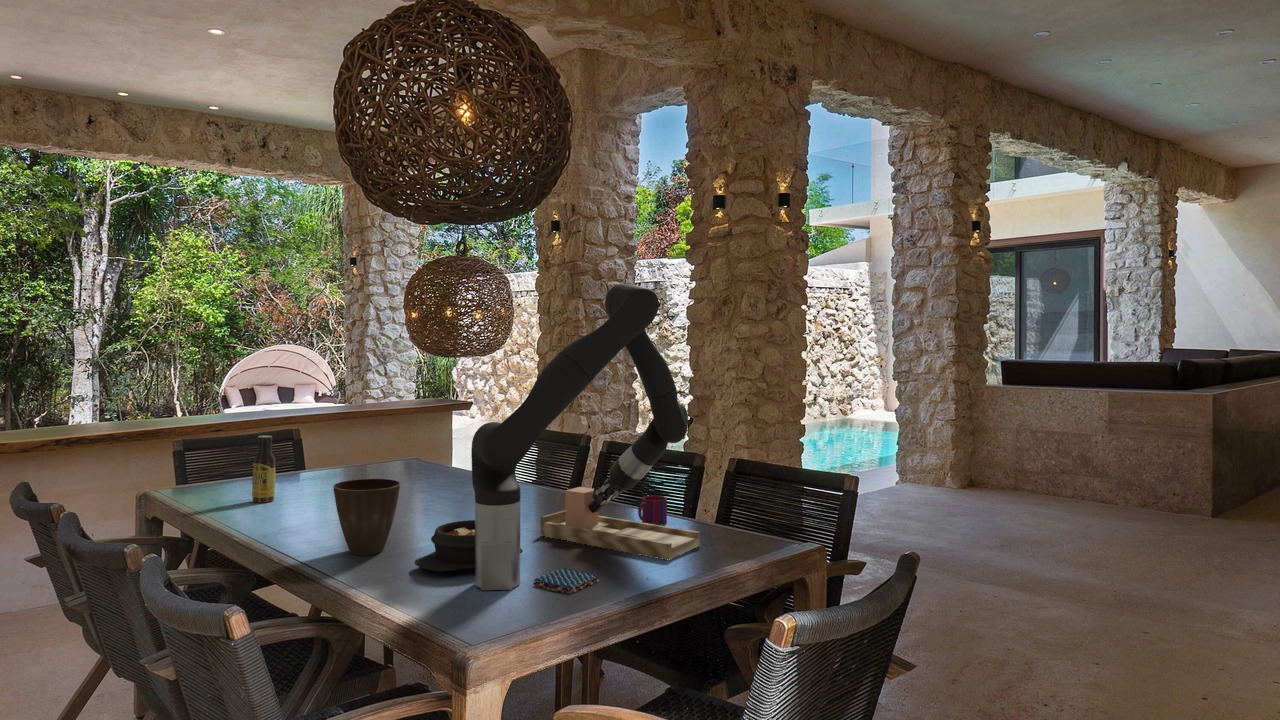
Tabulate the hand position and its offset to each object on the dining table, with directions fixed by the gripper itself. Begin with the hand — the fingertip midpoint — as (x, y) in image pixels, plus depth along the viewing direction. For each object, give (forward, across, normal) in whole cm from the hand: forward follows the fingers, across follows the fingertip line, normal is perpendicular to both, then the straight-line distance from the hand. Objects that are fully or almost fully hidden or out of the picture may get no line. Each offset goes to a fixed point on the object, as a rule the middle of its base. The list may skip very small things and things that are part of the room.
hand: (591, 509), depth 208 cm
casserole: (+10, +35, 0) cm, 37 cm away
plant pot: (+30, +41, -20) cm, 55 cm away
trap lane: (-1, 0, +11) cm, 11 cm away
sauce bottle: (+80, +23, -70) cm, 109 cm away
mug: (+2, -20, +8) cm, 22 cm away
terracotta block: (+6, 0, 0) cm, 6 cm away
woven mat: (-8, +34, +19) cm, 40 cm away
